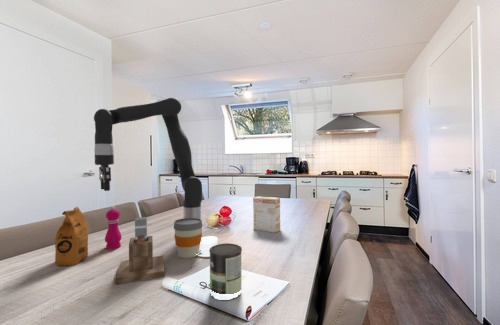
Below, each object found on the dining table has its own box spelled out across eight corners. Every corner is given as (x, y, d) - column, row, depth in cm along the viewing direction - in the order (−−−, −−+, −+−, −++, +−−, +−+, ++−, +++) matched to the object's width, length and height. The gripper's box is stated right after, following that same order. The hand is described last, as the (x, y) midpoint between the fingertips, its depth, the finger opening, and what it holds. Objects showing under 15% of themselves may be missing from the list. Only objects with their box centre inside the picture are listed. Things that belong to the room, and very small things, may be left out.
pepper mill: (114, 250, 121) (114, 208, 121) (101, 249, 122) (100, 207, 122) (125, 245, 128) (124, 205, 128) (112, 244, 130) (111, 204, 129)
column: (147, 262, 101) (146, 216, 101) (147, 266, 97) (146, 219, 97) (136, 264, 100) (135, 217, 99) (135, 268, 96) (134, 220, 96)
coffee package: (50, 267, 102) (49, 212, 102) (68, 255, 115) (67, 206, 114) (76, 266, 103) (75, 211, 103) (92, 254, 116) (91, 205, 116)
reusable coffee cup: (207, 251, 119) (207, 218, 119) (193, 261, 107) (192, 225, 107) (184, 248, 123) (184, 217, 123) (168, 257, 111) (167, 223, 111)
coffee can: (208, 302, 77) (208, 255, 76) (210, 285, 87) (210, 243, 87) (243, 300, 78) (242, 253, 77) (241, 283, 88) (241, 242, 88)
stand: (162, 260, 109) (162, 228, 108) (164, 276, 94) (164, 239, 94) (120, 266, 103) (120, 232, 103) (115, 284, 88) (114, 244, 88)
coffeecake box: (280, 230, 153) (280, 197, 153) (275, 233, 147) (275, 199, 147) (259, 226, 161) (258, 195, 161) (253, 229, 155) (252, 197, 155)
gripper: (116, 153, 113) (117, 190, 113) (110, 154, 124) (111, 187, 125) (97, 153, 108) (98, 192, 109) (92, 154, 120) (93, 189, 120)
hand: (105, 189), depth 117 cm, fingers open, 8 cm apart
